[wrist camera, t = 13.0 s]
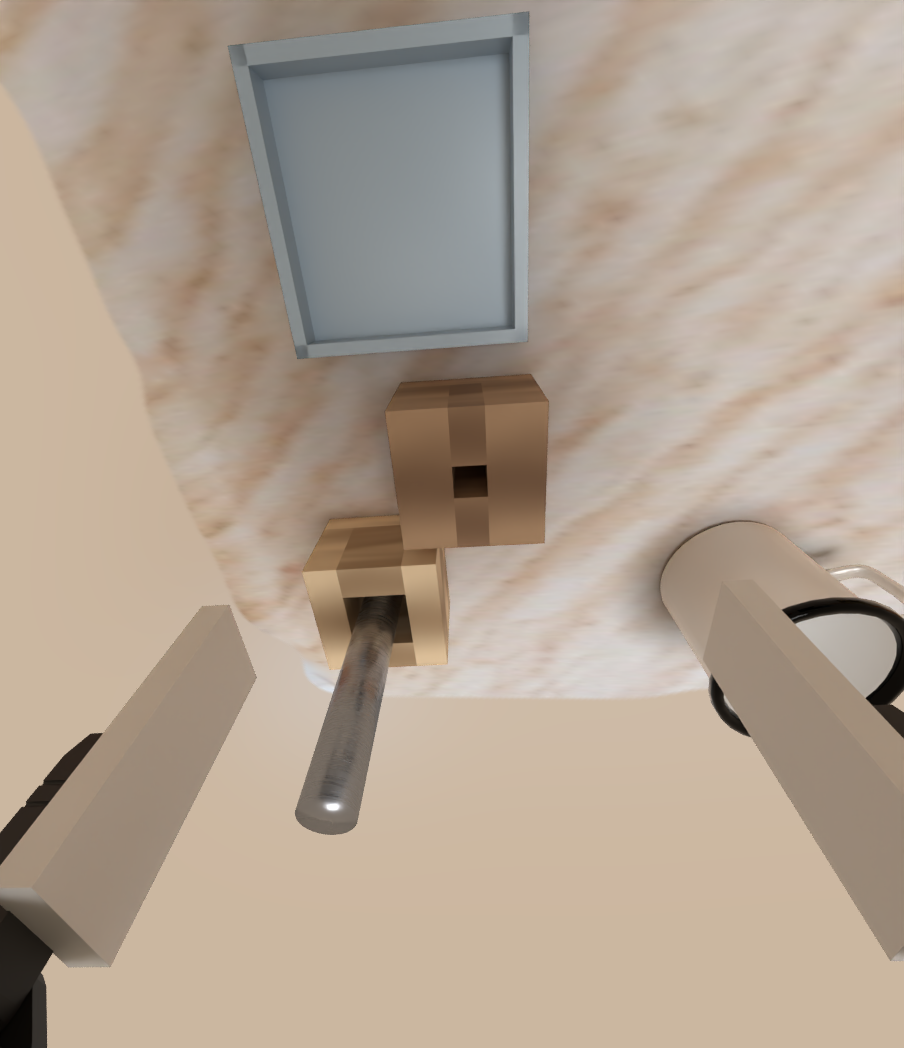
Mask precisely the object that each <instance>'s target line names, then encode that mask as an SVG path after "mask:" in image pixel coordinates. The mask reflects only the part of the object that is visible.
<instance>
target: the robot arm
mask: <svg viewBox="0 0 904 1048" xmlns="http://www.w3.org/2000/svg"><path fill="white" fill-rule="evenodd" d="M703 661H704V662H705V664H706V666H707V667H708V669H709V670H710V672H711V674H712V675H713V677H714V678H715V680H716V682H717V683H718V685H719V687H720V688H721V690H722V691H723V693H724V695H725V696H726V698H727V699H728V701H729V703H730V704H731V706H732V707H733V709H734V711H735V712H736V714H737V715H738V717H739V719H740V720H741V722H742V723H743V725H744V727H745V728H746V730H747V731H748V733H749V735H750V736H751V738H752V739H753V741H754V743H755V744H756V746H757V747H758V749H759V751H760V752H761V754H762V755H763V757H764V759H765V760H766V762H767V764H768V765H769V767H770V768H771V770H772V771H773V773H774V775H775V776H776V778H777V779H778V781H779V783H780V784H781V786H782V788H783V789H784V791H785V792H786V794H787V796H788V797H789V799H790V800H791V802H792V804H793V805H794V807H795V808H796V810H797V812H798V813H799V815H800V816H801V818H802V820H803V821H804V823H805V825H806V826H807V828H808V829H809V831H810V833H811V834H812V836H813V837H814V839H815V841H816V842H817V844H818V845H819V847H820V849H821V850H822V852H823V853H824V855H825V856H826V858H827V860H828V861H829V863H830V865H831V866H832V868H833V869H834V871H835V873H836V874H837V876H838V877H839V879H840V881H841V882H842V884H843V885H844V887H845V889H846V890H847V892H848V894H849V895H850V897H851V898H852V900H853V902H854V903H855V905H856V906H857V908H858V910H859V911H860V913H861V914H862V916H863V917H864V919H865V921H866V922H867V924H868V926H869V927H870V929H871V931H872V932H873V934H874V935H875V937H876V939H877V940H878V942H879V943H880V945H881V947H882V948H883V950H884V951H885V953H886V955H887V956H888V958H889V959H890V961H904V712H902V711H901V710H899V709H898V708H896V707H894V706H893V705H871V704H870V703H869V702H868V701H867V700H866V699H865V697H864V696H863V695H862V694H861V693H860V692H859V691H858V690H857V689H856V688H855V687H854V686H853V685H852V684H851V683H850V682H849V681H848V680H847V678H846V677H845V676H844V675H843V674H842V673H841V672H840V671H839V670H838V669H837V668H836V667H835V666H834V665H833V664H832V663H831V662H830V661H829V659H828V658H827V657H826V656H825V655H824V654H823V653H822V652H821V651H820V650H819V649H818V648H817V647H816V646H815V645H814V644H813V643H812V642H811V640H810V639H809V638H808V637H807V636H806V635H805V634H804V633H803V632H802V631H801V630H800V629H799V628H798V627H797V626H796V625H795V624H794V623H793V622H792V620H791V619H790V618H789V617H788V616H787V615H786V614H785V613H784V612H783V611H782V610H781V609H780V608H779V607H778V606H777V605H776V604H775V603H774V601H773V600H772V599H771V598H770V597H769V596H768V595H767V594H766V593H765V592H764V591H763V590H762V589H761V588H760V587H759V586H758V585H757V584H756V582H755V581H754V580H753V579H751V580H730V581H722V583H721V587H720V592H719V596H718V600H717V604H716V608H715V612H714V616H713V620H712V624H711V628H710V632H709V636H708V640H707V644H706V648H705V652H704V656H703ZM256 678H257V677H256V674H255V672H254V669H253V666H252V664H251V661H250V658H249V656H248V653H247V651H246V648H245V645H244V643H243V640H242V637H241V635H240V632H239V629H238V627H237V624H236V621H235V619H234V616H233V614H232V611H231V608H230V606H229V605H217V606H202V607H201V608H200V609H199V611H198V612H197V613H196V615H195V616H194V617H193V619H192V620H191V621H190V622H189V624H188V625H187V626H186V627H185V629H184V630H183V631H182V633H181V634H180V635H179V636H178V638H177V639H176V640H175V642H174V643H173V644H172V645H171V647H170V648H169V649H168V651H167V652H166V653H165V654H164V656H163V657H162V658H161V660H160V661H159V662H158V663H157V665H156V666H155V667H154V669H153V670H152V671H151V672H150V674H149V675H148V676H147V678H146V679H145V680H144V682H143V683H142V684H141V685H140V687H139V688H138V689H137V690H136V692H135V693H134V694H133V696H132V697H131V698H130V699H129V701H128V702H127V703H126V705H125V706H124V707H123V709H122V710H121V711H120V712H119V714H118V715H117V716H116V718H115V719H114V720H113V721H112V723H111V724H110V725H109V727H108V728H107V729H106V730H105V732H104V733H98V734H97V733H94V734H90V735H89V736H87V737H86V738H85V739H84V740H82V742H80V743H79V744H77V745H76V746H75V747H74V748H73V749H71V750H70V751H69V752H68V753H67V754H65V755H64V756H63V757H62V759H61V760H60V761H59V762H58V764H57V765H56V766H55V767H54V768H53V770H52V771H51V772H50V773H49V775H48V776H47V777H46V778H45V779H44V783H43V785H42V786H39V787H38V788H37V789H36V790H35V791H34V793H33V794H32V795H31V796H30V797H29V799H28V800H27V801H26V806H25V807H21V808H20V810H19V811H18V812H17V813H16V814H15V816H14V817H13V818H12V819H11V821H10V822H9V823H8V824H7V825H6V827H5V828H4V829H3V830H2V831H1V833H0V1048H47V1010H46V984H45V981H44V978H43V975H42V974H41V971H42V970H43V968H44V966H45V965H46V963H47V961H48V960H49V958H50V956H51V955H52V953H54V954H55V955H56V956H57V957H58V958H59V959H60V960H61V961H62V962H64V963H65V964H66V965H67V966H68V967H111V965H112V963H113V961H114V959H115V957H116V955H117V953H118V951H119V949H120V947H121V945H122V943H123V941H124V939H125V937H126V935H127V933H128V931H129V929H130V927H131V925H132V923H133V921H134V919H135V917H136V915H137V913H138V911H139V909H140V907H141V905H142V903H143V901H144V899H145V897H146V895H147V894H148V892H149V890H150V887H151V885H152V884H153V882H154V880H155V878H156V876H157V873H158V871H159V870H160V868H161V866H162V864H163V862H164V860H165V858H166V856H167V854H168V852H169V850H170V848H171V846H172V844H173V842H174V840H175V838H176V836H177V834H178V832H179V830H180V828H181V826H182V824H183V822H184V820H185V818H186V816H187V814H188V812H189V811H190V809H191V807H192V804H193V803H194V801H195V798H196V797H197V795H198V793H199V791H200V789H201V787H202V785H203V783H204V781H205V779H206V777H207V775H208V773H209V771H210V769H211V767H212V765H213V763H214V761H215V759H216V757H217V755H218V753H219V751H220V749H221V747H222V745H223V743H224V741H225V739H226V737H227V735H228V733H229V731H230V729H231V727H232V725H233V724H234V722H235V719H236V717H237V716H238V714H239V712H240V710H241V708H242V706H243V703H244V702H245V700H246V698H247V696H248V694H249V692H250V690H251V688H252V686H253V684H254V682H255V680H256Z"/></svg>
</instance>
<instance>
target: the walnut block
mask: <svg viewBox="0 0 904 1048" xmlns="http://www.w3.org/2000/svg"><path fill="white" fill-rule="evenodd" d="M548 411H549V401H548V399H547V398H546V396H545V395H544V393H543V392H542V390H541V389H540V387H539V386H538V384H537V383H536V381H535V380H534V378H533V377H532V375H531V374H525V375H510V376H495V377H480V378H464V379H449V380H434V381H419V382H404V383H400V385H399V387H398V389H397V391H396V392H395V394H394V396H393V398H392V400H391V401H390V403H389V405H388V407H387V409H386V410H385V416H386V424H387V431H388V438H389V445H390V453H391V460H392V467H393V474H394V481H395V489H396V496H397V503H398V510H399V518H400V525H401V532H402V539H403V547H404V550H412V549H433V548H454V547H475V546H496V545H517V544H538V543H544V540H545V507H546V475H547V443H548Z"/></svg>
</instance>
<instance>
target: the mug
mask: <svg viewBox="0 0 904 1048" xmlns="http://www.w3.org/2000/svg"><path fill="white" fill-rule="evenodd" d="M850 578H865V579H868V580H870V581H872V582H874V583H875V584H877V585H878V586H880V587H881V588H883V589H884V590H886V591H887V592H889V593H890V594H892V595H893V596H894V597H896V598H897V599H898V600H899V601H900V602H902V603H903V604H904V587H903V586H901V585H900V584H898V583H897V582H895V581H894V580H892V579H890V578H889V577H887V576H886V575H884V574H883V573H881V572H879V571H878V570H876V569H874V568H872V567H869V566H864V565H850V566H844V567H838V568H833V569H827V570H825V569H824V568H822V567H821V566H820V565H819V564H818V563H816V562H815V561H814V560H813V559H812V558H810V557H809V556H808V555H807V554H806V553H804V552H803V551H802V550H801V549H800V548H798V547H797V546H796V545H795V544H794V543H792V542H791V541H790V540H789V539H788V538H786V537H785V536H784V535H783V534H781V533H780V532H779V531H777V530H776V529H774V528H772V527H770V526H767V525H765V524H760V523H755V522H733V523H727V524H722V525H719V526H716V527H713V528H710V529H708V530H706V531H704V532H702V533H700V534H698V535H696V536H694V537H693V538H692V539H690V540H689V541H687V542H686V543H685V544H684V545H682V546H681V547H680V548H679V549H678V550H677V551H676V552H675V553H674V555H673V556H672V557H671V559H670V560H669V561H668V563H667V565H666V567H665V569H664V571H663V574H662V578H661V582H660V593H661V597H662V600H663V603H664V604H665V606H666V608H667V609H668V611H669V613H670V614H671V616H672V618H673V619H674V621H675V623H676V624H677V626H678V628H679V629H680V631H681V633H682V634H683V636H684V638H685V639H686V641H687V642H688V644H689V646H690V647H691V649H692V651H693V652H694V654H695V656H696V657H697V659H698V661H699V662H700V664H701V666H702V667H703V669H704V671H705V672H706V674H707V676H708V677H709V696H710V699H711V703H712V705H713V707H714V708H715V710H716V712H717V713H718V715H719V716H720V718H721V719H722V720H723V721H724V722H725V723H726V724H727V725H728V726H729V727H730V728H732V729H734V730H735V731H737V732H739V733H741V734H742V735H745V736H748V737H751V736H750V735H749V733H748V731H747V730H746V728H745V727H744V725H743V723H742V722H741V720H740V719H739V717H738V715H737V714H736V712H735V711H734V709H733V707H732V706H731V704H730V703H729V701H728V699H727V698H726V696H725V695H724V693H723V691H722V690H721V688H720V687H719V685H718V683H717V682H716V680H715V678H714V677H713V675H712V674H711V672H710V670H709V669H708V667H707V666H706V664H705V662H704V661H703V656H704V652H705V648H706V644H707V640H708V636H709V632H710V628H711V624H712V620H713V616H714V612H715V608H716V604H717V600H718V596H719V592H720V587H721V583H722V581H730V580H751V579H753V580H754V581H755V582H756V584H757V585H758V586H759V587H760V588H761V589H762V590H763V591H764V592H765V593H766V594H767V595H768V596H769V597H770V598H771V599H772V600H773V601H774V603H775V604H776V605H777V606H778V607H779V608H780V609H781V610H782V611H783V612H784V613H785V614H786V615H787V616H788V617H789V618H790V619H791V620H792V622H793V623H794V624H795V625H796V626H797V627H798V628H799V629H800V630H801V631H802V632H803V633H804V634H805V635H806V636H807V637H808V638H809V639H810V640H811V642H812V643H813V644H814V645H815V646H816V647H817V648H818V649H819V650H820V651H821V652H822V653H823V654H824V655H825V656H826V657H827V658H828V659H829V661H830V662H831V663H832V664H833V665H834V666H835V667H836V668H837V669H838V670H839V671H840V672H841V673H842V674H843V675H844V676H845V677H846V678H847V680H848V681H849V682H850V683H851V684H852V685H853V686H854V687H855V688H856V689H857V690H858V691H859V692H860V693H861V694H862V695H863V696H864V697H865V699H866V700H867V701H868V702H869V703H870V704H871V705H890V704H891V703H892V702H893V701H894V700H895V699H896V698H897V697H898V696H899V695H900V694H901V693H902V692H903V691H904V614H902V615H900V614H898V613H897V612H896V611H894V610H893V609H892V608H890V607H888V606H886V605H883V604H881V603H878V602H876V601H872V600H867V599H861V598H858V597H857V596H856V595H855V594H854V593H852V592H851V591H850V590H849V589H848V588H846V587H845V586H844V585H843V584H842V583H840V582H839V581H841V580H846V579H850Z"/></svg>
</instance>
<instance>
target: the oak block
mask: <svg viewBox="0 0 904 1048" xmlns="http://www.w3.org/2000/svg"><path fill="white" fill-rule="evenodd" d="M302 574H303V578H304V581H305V585H306V588H307V592H308V595H309V599H310V602H311V606H312V609H313V613H314V616H315V620H316V623H317V627H318V630H319V634H320V637H321V641H322V644H323V648H324V651H325V655H326V659H327V662H328V666H329V669H330V670H335V669H341V667H342V664H343V661H344V658H345V655H346V652H347V648H348V645H349V642H350V639H351V636H352V633H353V630H354V627H355V624H356V620H357V617H358V614H359V611H360V608H361V605H362V602H363V599H364V597H367V596H386V595H403V598H402V603H401V608H400V613H399V618H398V623H397V628H396V633H395V638H394V643H393V648H392V652H391V657H390V662H389V667H401V666H423V665H445V664H447V663H448V637H449V610H450V599H449V589H448V580H447V570H446V561H445V551H444V548H433V549H412V550H404V547H403V539H402V532H401V525H400V518H399V515H390V516H374V517H358V518H342V519H330V520H329V522H328V524H327V526H326V528H325V530H324V531H323V533H322V535H321V537H320V539H319V541H318V543H317V545H316V546H315V548H314V550H313V552H312V554H311V556H310V558H309V560H308V562H307V563H306V565H305V567H304V569H303V571H302Z"/></svg>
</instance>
